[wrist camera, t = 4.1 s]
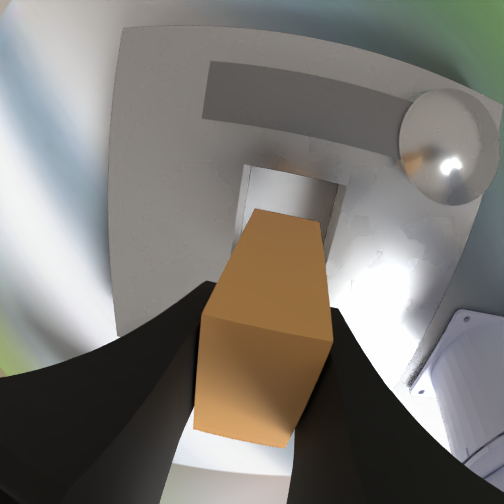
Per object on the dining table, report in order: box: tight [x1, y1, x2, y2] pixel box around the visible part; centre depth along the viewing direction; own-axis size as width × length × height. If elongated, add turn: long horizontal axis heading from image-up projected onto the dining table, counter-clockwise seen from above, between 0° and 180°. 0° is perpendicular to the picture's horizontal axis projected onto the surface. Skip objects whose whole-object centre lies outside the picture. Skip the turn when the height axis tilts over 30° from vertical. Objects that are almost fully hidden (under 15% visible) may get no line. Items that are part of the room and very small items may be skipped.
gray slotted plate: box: [108, 26, 503, 390], centre depth 15 cm, size 18×18×4 cm
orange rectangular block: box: [193, 209, 333, 448], centre depth 10 cm, size 2×4×7 cm, turn 171°
